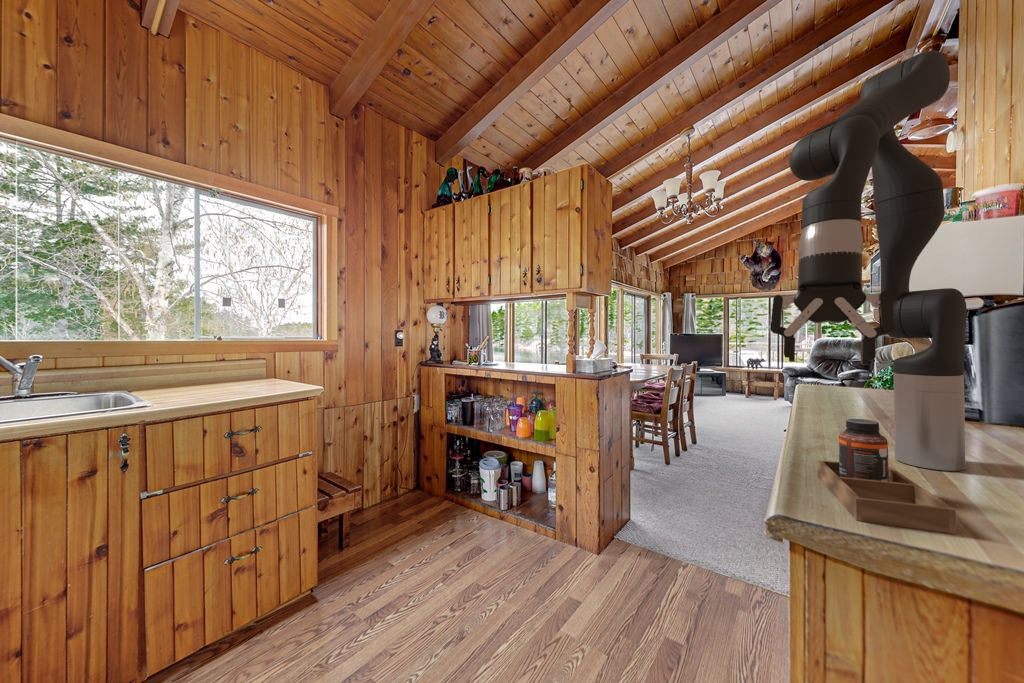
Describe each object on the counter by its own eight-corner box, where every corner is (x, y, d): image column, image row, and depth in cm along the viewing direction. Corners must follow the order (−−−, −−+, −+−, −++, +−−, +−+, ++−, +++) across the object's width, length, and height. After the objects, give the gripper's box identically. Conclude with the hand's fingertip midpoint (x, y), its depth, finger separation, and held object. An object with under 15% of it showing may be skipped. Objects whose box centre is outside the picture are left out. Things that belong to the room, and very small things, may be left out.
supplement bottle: (899, 499, 59) (898, 425, 59) (854, 496, 61) (853, 424, 61) (872, 484, 65) (870, 417, 65) (831, 482, 67) (830, 416, 66)
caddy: (817, 476, 69) (817, 460, 69) (890, 484, 65) (889, 466, 65) (856, 520, 53) (856, 498, 53) (955, 533, 49) (955, 510, 49)
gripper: (889, 257, 58) (887, 366, 57) (774, 266, 66) (771, 361, 66) (899, 243, 52) (897, 365, 51) (771, 255, 60) (768, 359, 60)
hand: (826, 362), depth 58 cm, fingers open, 8 cm apart
